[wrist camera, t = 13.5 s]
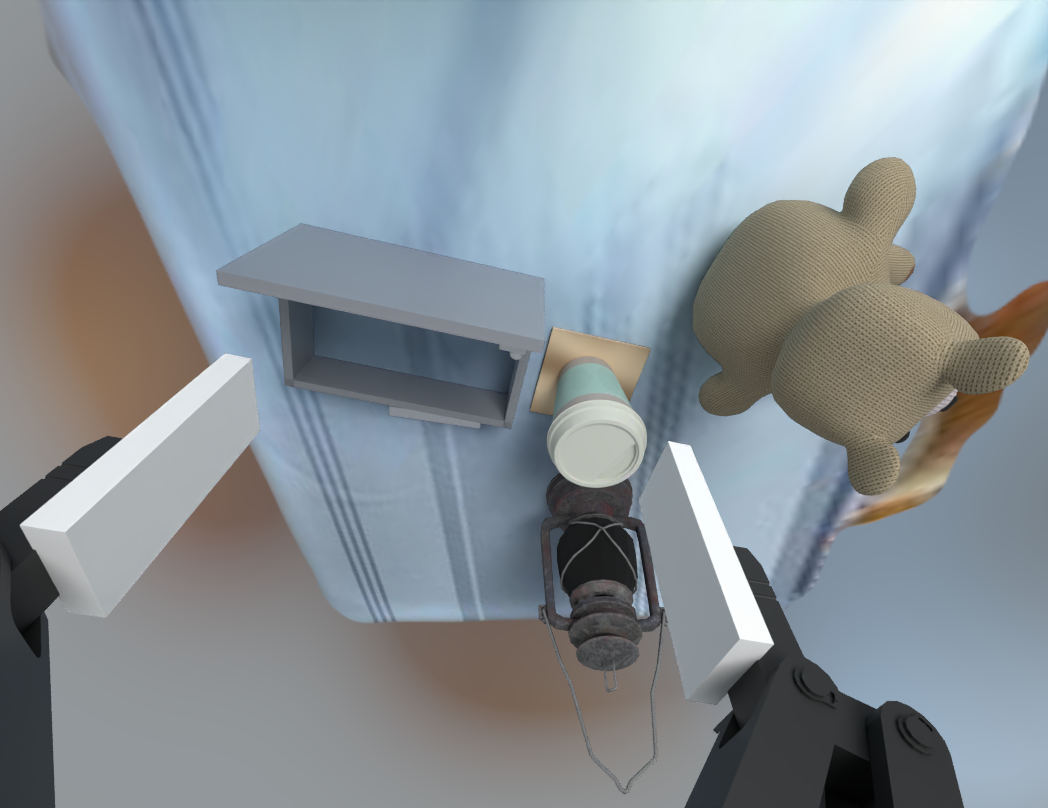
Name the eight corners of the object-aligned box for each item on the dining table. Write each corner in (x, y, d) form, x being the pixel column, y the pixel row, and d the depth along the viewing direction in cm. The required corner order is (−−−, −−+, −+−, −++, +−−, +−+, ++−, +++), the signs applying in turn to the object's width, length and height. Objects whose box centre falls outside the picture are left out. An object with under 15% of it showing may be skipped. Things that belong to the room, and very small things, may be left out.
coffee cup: (561, 423, 52) (567, 503, 42) (532, 360, 48) (531, 432, 38) (637, 399, 50) (662, 476, 40) (613, 331, 46) (635, 399, 36)
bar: (392, 409, 53) (389, 415, 52) (392, 400, 52) (389, 406, 51) (480, 422, 53) (479, 428, 52) (481, 413, 53) (480, 420, 52)
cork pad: (552, 326, 46) (552, 328, 46) (649, 347, 47) (650, 349, 47) (530, 408, 52) (530, 410, 51) (617, 426, 53) (618, 428, 52)
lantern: (539, 524, 62) (538, 818, 37) (538, 462, 56) (537, 763, 31) (634, 525, 61) (699, 823, 36) (644, 462, 55) (729, 767, 31)
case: (300, 223, 41) (216, 270, 31) (544, 278, 44) (545, 340, 33) (306, 365, 49) (241, 442, 39) (512, 406, 52) (504, 490, 41)
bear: (775, 398, 50) (946, 617, 30) (642, 345, 47) (729, 550, 26) (939, 205, 39) (1393, 339, 19) (781, 119, 36) (1117, 165, 15)
